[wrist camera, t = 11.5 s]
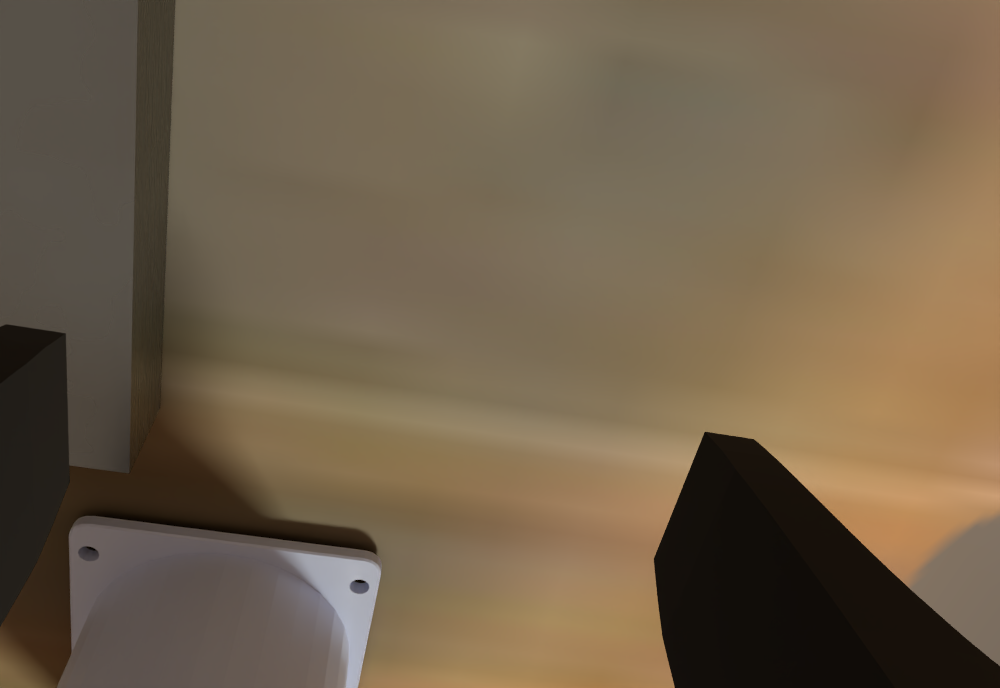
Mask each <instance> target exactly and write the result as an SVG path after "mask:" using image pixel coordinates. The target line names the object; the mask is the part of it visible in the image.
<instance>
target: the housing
mask: <svg viewBox="0 0 1000 688" xmlns="http://www.w3.org/2000/svg"><path fill="white" fill-rule="evenodd" d="M174 18H175V0H0V327H1V326H3V325H5V324H9V325H15V326H22V327H28V328H35V329H41V330H48V331H54V332H61V333H66V357H67V397H68V436H69V465H70V466H77V467H85V468H92V469H100V470H107V471H115V472H122V473H130V471H131V469H132V467H133V465H134V463H135V460H136V458H137V456H138V454H139V452H140V450H141V448H142V445H143V443H144V441H145V439H146V437H147V435H148V433H149V431H150V428H151V426H152V424H153V422H154V420H155V418H156V416H157V413H158V411H159V409H160V394H161V367H162V340H163V313H164V286H165V260H166V233H167V206H168V179H169V152H170V125H171V99H172V72H173V45H174Z"/></svg>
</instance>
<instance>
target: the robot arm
mask: <svg viewBox="0 0 1000 688" xmlns="http://www.w3.org/2000/svg"><path fill="white" fill-rule="evenodd" d="M69 482H70V476H69V436H68V397H67V357H66V333H61V332H54V331H48V330H41V329H35V328H28V327H22V326H15V325H9V324H5V325H3V326H1V327H0V626H1V624H2V623H3V621H4V619H5V617H6V616H7V614H8V612H9V610H10V609H11V607H12V605H13V603H14V602H15V600H16V598H17V596H18V595H19V593H20V591H21V589H22V588H23V586H24V584H25V582H26V581H27V579H28V577H29V575H30V573H31V572H32V570H33V568H34V566H35V564H36V563H37V560H38V558H39V556H40V553H41V551H42V549H43V546H44V544H45V542H46V539H47V537H48V535H49V532H50V530H51V527H52V525H53V523H54V520H55V517H56V515H57V512H58V510H59V507H60V505H61V502H62V500H63V497H64V495H65V492H66V489H67V487H68V484H69ZM85 546H89V547H93V548H95V549H96V550H97V551H93V550H90V549H88V548H87V547H85ZM654 565H655V575H656V586H657V596H658V605H659V613H660V620H661V628H662V636H663V640H664V645H665V649H666V653H667V657H668V661H669V665H670V669H671V673H672V677H673V681H674V685H675V688H1000V666H999V665H998V664H996V663H995V662H994V661H992V660H991V659H990V658H989V657H988V656H986V655H985V654H984V653H983V652H982V651H980V650H979V649H978V648H977V647H975V646H974V645H973V644H972V643H971V642H969V641H968V640H967V639H966V638H965V637H963V636H962V635H961V634H960V633H959V632H958V631H957V630H955V629H954V628H953V627H952V626H951V625H950V624H948V623H947V622H946V621H945V620H944V619H943V618H942V617H941V616H940V615H938V614H937V613H936V612H935V611H934V610H933V609H932V608H931V607H929V606H928V605H927V604H926V603H925V602H924V601H923V600H922V599H920V598H919V597H918V596H917V595H916V594H915V593H914V592H913V591H911V590H910V589H909V588H908V587H907V586H906V585H905V584H904V583H903V582H902V581H901V580H900V579H899V578H898V577H896V576H895V575H894V574H893V573H892V572H891V571H890V570H889V569H888V568H887V567H886V566H885V565H884V564H883V563H882V562H881V561H880V560H878V559H877V558H876V557H875V556H874V555H873V554H872V553H871V552H870V551H869V550H868V549H867V548H866V547H865V546H864V545H863V544H862V543H861V542H860V541H859V540H858V539H857V538H856V537H855V536H854V535H853V534H852V533H851V532H850V531H849V530H848V529H847V528H846V527H845V526H844V525H843V524H842V523H841V522H840V521H839V520H838V519H837V518H836V517H835V516H834V515H833V514H832V513H831V512H830V511H829V510H828V509H827V508H825V507H824V506H823V505H822V504H821V503H820V502H819V501H818V500H817V499H816V498H815V497H814V496H813V495H812V494H811V493H810V492H809V491H808V490H807V489H806V488H805V487H804V486H803V485H802V484H801V483H800V482H799V481H798V480H797V479H796V478H795V477H794V476H793V475H792V474H791V473H790V472H789V471H788V470H787V469H786V468H785V467H784V466H783V465H782V464H781V463H780V462H779V461H778V460H777V459H776V458H775V457H774V456H772V455H771V454H770V453H769V452H768V451H767V450H766V449H765V448H764V447H762V446H761V445H760V444H759V443H758V442H756V441H755V440H754V439H748V438H742V437H736V436H729V435H723V434H716V433H710V432H705V433H704V436H703V438H702V441H701V443H700V445H699V448H698V450H697V453H696V455H695V458H694V460H693V463H692V465H691V468H690V470H689V473H688V475H687V478H686V480H685V483H684V485H683V488H682V490H681V493H680V495H679V498H678V500H677V503H676V505H675V508H674V510H673V513H672V515H671V518H670V520H669V523H668V525H667V528H666V530H665V533H664V535H663V537H662V540H661V542H660V545H659V547H658V550H657V552H656V555H655V557H654ZM69 566H70V607H71V648H72V653H71V656H70V658H69V660H68V663H67V665H66V667H65V669H64V672H63V674H62V676H61V679H60V681H59V683H58V685H57V688H358V684H359V679H360V674H361V669H362V664H363V659H364V655H365V650H366V645H367V640H368V635H369V630H370V625H371V620H372V615H373V610H374V605H375V601H376V596H377V591H378V586H379V581H380V576H381V567H382V566H381V560H380V558H379V557H378V556H377V555H376V554H374V553H373V552H370V551H366V550H359V549H351V548H343V547H335V546H327V545H319V544H311V543H304V542H296V541H288V540H280V539H272V538H264V537H256V536H249V535H241V534H233V533H225V532H217V531H209V530H201V529H193V528H186V527H178V526H170V525H162V524H154V523H146V522H138V521H131V520H123V519H115V518H107V517H99V516H83V517H81V518H78V519H77V520H76V521H75V522H74V524H73V526H72V528H71V530H70V533H69ZM355 580H363V581H366V582H365V583H357V582H355Z"/></svg>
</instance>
